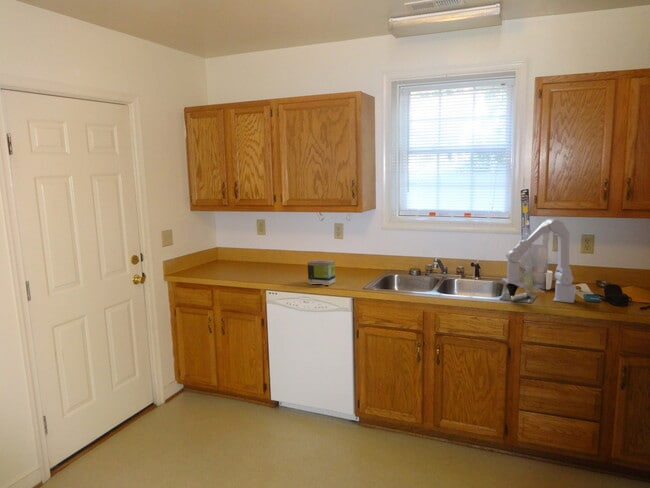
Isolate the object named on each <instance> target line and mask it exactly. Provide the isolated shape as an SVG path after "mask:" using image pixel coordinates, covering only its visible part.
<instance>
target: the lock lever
mask: <svg viewBox="0 0 650 488" xmlns="http://www.w3.org/2000/svg"><path fill="white" fill-rule="evenodd" d="M518 294H519V295H511V301H510V302H514V301H515V300H519V299H523V298H530V297H531V292H522V293H518Z"/></svg>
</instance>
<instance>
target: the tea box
mask: <svg viewBox="0 0 650 488" xmlns="http://www.w3.org/2000/svg"><path fill="white" fill-rule="evenodd" d="M307 276H308V277H307V279H308V284H309V283H318V284H328V285H329V284H331V283H333V282H335V283H336V265H335V260H325V259H320V260H319V259H313V260H311V261H308V262H307Z"/></svg>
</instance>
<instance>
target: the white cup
mask: <svg viewBox="0 0 650 488" xmlns="http://www.w3.org/2000/svg"><path fill="white" fill-rule="evenodd" d="M546 270H547V269H546ZM545 274H546V291H547V290H551V289H552V283H553V274H554V273H553V270H547V273H545Z"/></svg>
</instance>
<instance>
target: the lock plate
mask: <svg viewBox="0 0 650 488" xmlns="http://www.w3.org/2000/svg"><path fill="white" fill-rule="evenodd" d="M519 294H520V293H515V295H519ZM536 298H537V295H531V297H530V298H523V299H519V300H515V301H513V302H517V303H523V304H524V303H525V304H533V302H534V301H535V299H536ZM499 300H500V301H507V302H512V301H511V298H510V294H509V292H505V293H504V294H503V295H502V296H501V297H500V298H499Z"/></svg>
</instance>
